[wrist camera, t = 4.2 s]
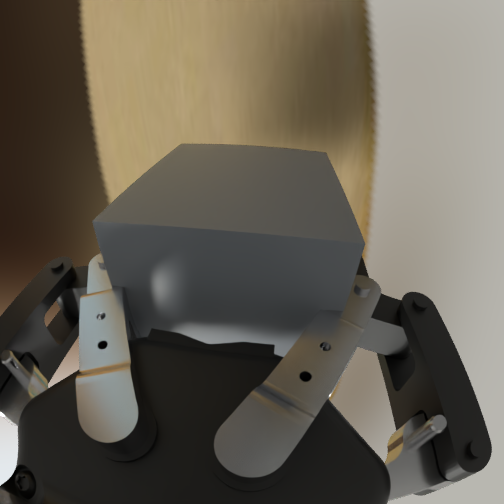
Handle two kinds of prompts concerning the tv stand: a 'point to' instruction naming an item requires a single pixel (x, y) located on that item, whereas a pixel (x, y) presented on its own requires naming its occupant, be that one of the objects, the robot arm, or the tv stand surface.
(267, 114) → the tv stand surface
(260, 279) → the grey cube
